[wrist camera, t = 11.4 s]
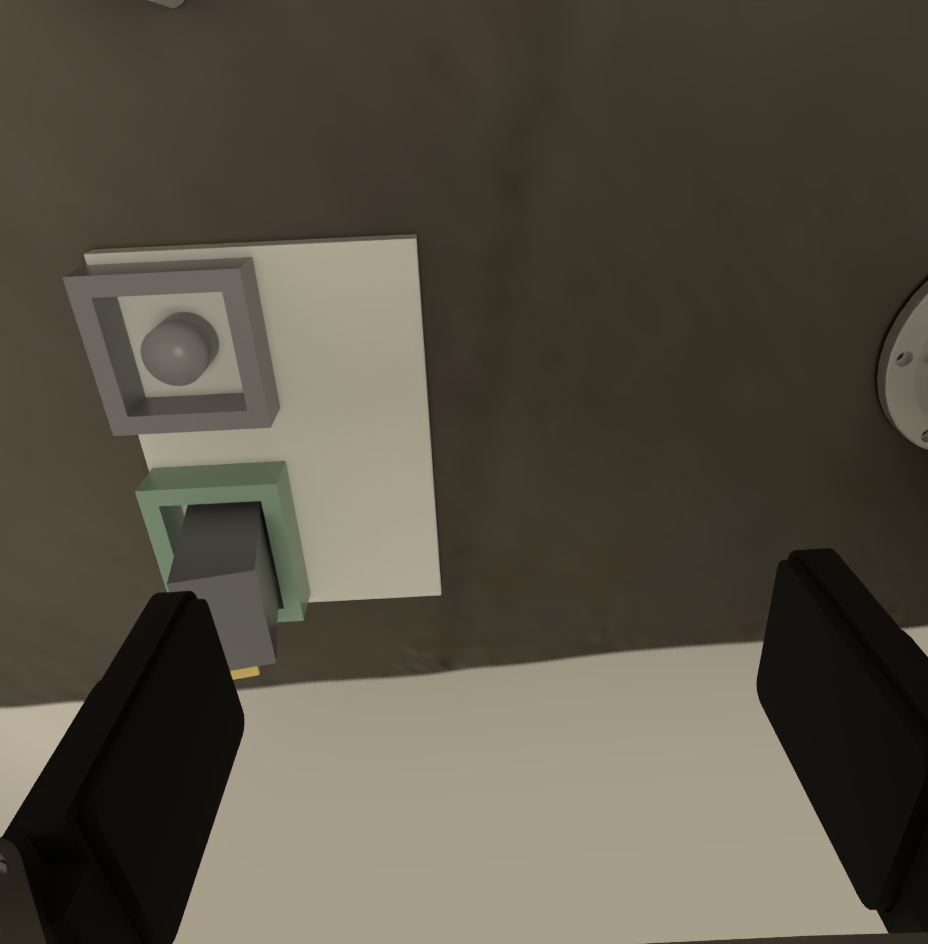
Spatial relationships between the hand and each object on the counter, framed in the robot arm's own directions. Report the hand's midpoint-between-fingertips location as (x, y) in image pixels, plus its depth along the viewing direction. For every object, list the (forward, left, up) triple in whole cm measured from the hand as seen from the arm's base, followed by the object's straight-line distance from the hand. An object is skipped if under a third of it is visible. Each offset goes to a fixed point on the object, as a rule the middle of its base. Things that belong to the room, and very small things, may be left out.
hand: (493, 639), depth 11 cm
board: (+10, +9, -27) cm, 30 cm away
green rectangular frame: (+14, +15, -26) cm, 33 cm away
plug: (+14, +15, -26) cm, 32 cm away
